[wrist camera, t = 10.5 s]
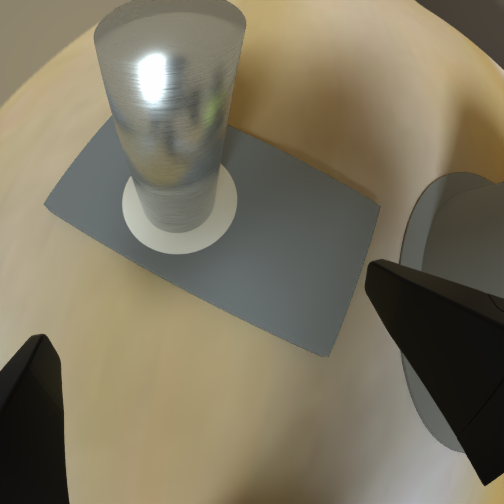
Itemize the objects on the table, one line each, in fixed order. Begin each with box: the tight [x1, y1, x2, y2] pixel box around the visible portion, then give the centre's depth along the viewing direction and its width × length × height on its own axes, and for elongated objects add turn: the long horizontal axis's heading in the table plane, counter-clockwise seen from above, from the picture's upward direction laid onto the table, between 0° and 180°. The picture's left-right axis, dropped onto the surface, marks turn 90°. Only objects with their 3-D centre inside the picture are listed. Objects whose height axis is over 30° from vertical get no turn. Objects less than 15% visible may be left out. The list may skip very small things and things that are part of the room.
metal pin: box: [94, 0, 246, 233], centre depth 12 cm, size 4×4×12 cm
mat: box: [44, 115, 381, 357], centre depth 19 cm, size 20×11×1 cm, turn 65°
